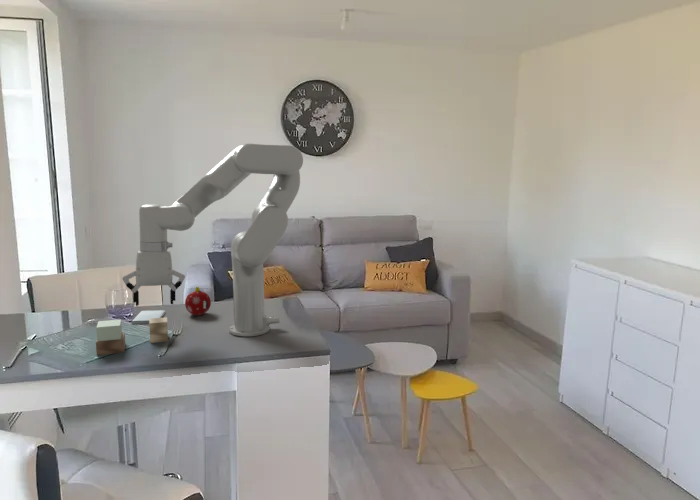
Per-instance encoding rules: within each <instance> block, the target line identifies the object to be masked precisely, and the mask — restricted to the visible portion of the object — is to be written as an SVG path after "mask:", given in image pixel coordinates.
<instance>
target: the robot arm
mask: <svg viewBox="0 0 700 500" xmlns="http://www.w3.org/2000/svg"><path fill="white" fill-rule="evenodd" d="M303 165H304V157H303V153H302V152H301V151H300V149H299V148H297V147H295V146H294V145H290V144H289V145H287V144H286V145H285V144H282V145H281V144H280V145H279V144H260V143H259V144H258V143H243V144H240V145H238V146H237V147H235V148H234V149H233V150H232V151H230V153H229V154H227V155H226V156H224V158H223V159H222V160H220V162H218V163H217V164H216V165H215V166H214V167H213V168H212V169H211V170H209V171H208V172H207V173H206V174H205V175H203V176H202V177H201V178H200V179H199V180H198V181H197V183H195V184H193V186H191V188H189V189H188V190H187V191H186V192H185V193H184V194H182V195H181V196H180V197H179V198H178V199H176V201H174V202H173V203H172V204H171V205H169V206H165V205H163V204H157V203H155V204H154V203H150V204H149V203H147V204H146V203H145V204H143V205H141V206H140V207H139V212H138V215H139V218H138V219H139V250H138V251H137V253H136V257H135V270H133V271H132V272H130V273H128V274H126V275H124V276H122V279H121V280H122V281H123V282H124V284H125V286H126V288H128V289H129V291H131V292H132V296H133V297H132V299H133V301H132V302H133V303H135V307H137V306H139V305H140V300H139V297H140V296H139V295H140V294H139V289H140V288H141V287H155V286H168V287H169V289H170V291H169V294H170V295H169V297H170V298H169V299H170V304H171V305H174V301H175V302H176V291H177V290H178V288H180V286H181V285H182V284H183V282H184V280H185V278H186V276H185V275H186V274H183V273H181V272H179V271H176V270H175V269H173V263H172V261H173V260H172V254H171V251H170V250H168V249H170V248H173V242H169V241H168V230H171V231H179V232H184V231H187V230H189V229H191V228H192V227H193V225H194V223H195V220H196V219H195V218H196V217H198V215H200V214H201V213H202V212H203V211H204V210H205V209H206V208H208V207H209V206H210V205H212V204H214V203H215V202H217V201H219V200H221V199H223V198H225V197H227V196H228V195H229V194H231V192H232V191H233V190H234V189H235V188H237V187H238V185H240V184H241V183H242V182H243V181H244V180H246V178H248V177H249V176H250V175H251V174H255V175H256V174H259V175H273V178H272V181H271V183H270V185H269V187H268V189H267V191H266V192H265V194H264V195H263V197H262V198H261V200H259V201H260V202H259V203H258V204H257V205H256V206H255V208H254V209H253V212H252V214H251V221H252V222H251V225H250V226H249V228H248V230H245V231H241V232H238V233H237V234H235V236H234V237H233V238H232V240H231V243H230V254H231V265H232V266H231V267H232V296H233V297H232V299H233V324H232V325H230V326H229V327H228V331H229V333H230V334H232V335H233V336H237V337H238V336H239V337H256V336H257V337H258V336H261V335H264V334H267V333H268V332H269V331H270V324H271V325H272V324H274V325H276V324H280V323H281V322H280V317H279V316H278V317H277V316H276V317H275V316H266V315H265V279H264V278H265V273H264V271H265V270H264V263H265V262H266V261H267V260H268V258H269V257H270V255H271V254H272V253H273V251H274V250H275V248H276V246H277V245H278V243H279V241H280V240H281V239H282V237H283V236H284V234H285V232H286V230H287V227H288V224H289V217H288V211H289V209H290V208H291V205H292V204H293V203H294V200H295V198H296V197H297V195H298V194H299V190H300V185H301V174H300V171H301V168H302V167H303ZM173 276H174V277H177V278H178V280H177V281H176V282H175V283H174V282H173ZM134 277H135V284H133V283H132V282H131V281H130V279H132V278H134Z"/></svg>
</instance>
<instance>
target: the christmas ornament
mask: <svg viewBox="0 0 700 500" xmlns="http://www.w3.org/2000/svg"><path fill="white" fill-rule="evenodd" d="M211 304H212V301H211V297H210V295H208V294H207V293H206V291H203V290H200V287H199V286H196V287H195V290H194V291H191V292H190V293H189V294H188V295H187V296H186V298H185V299H184V306H185V308H186V311H188V314H191V315H192V316H193V315H194V316H202V315H205V313H207V312H208V311H209V310H210V309H211Z"/></svg>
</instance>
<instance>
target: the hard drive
mask: <svg viewBox="0 0 700 500" xmlns="http://www.w3.org/2000/svg"><path fill="white" fill-rule="evenodd" d="M165 314H166V311H165V310H164V309H163V310H162V309H160V310H155V309H154V310H141V311H140V312H139V313H138V314H137V315H136V316H135V318H133V320H132V321H131V325H142V324H144V325H145V324H146V325H149V319H152V318H164V317H163V316H164V315H165Z"/></svg>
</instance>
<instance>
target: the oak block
mask: <svg viewBox="0 0 700 500" xmlns="http://www.w3.org/2000/svg"><path fill="white" fill-rule="evenodd" d="M148 325H149V327H148V328H149V342H150V343H151V344H155V343H163V342H164V343H165V342H169V331H168V328H169V327H168V326H169V325H168V317H167V316H166V317H162V318H152V319H149V324H148Z"/></svg>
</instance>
